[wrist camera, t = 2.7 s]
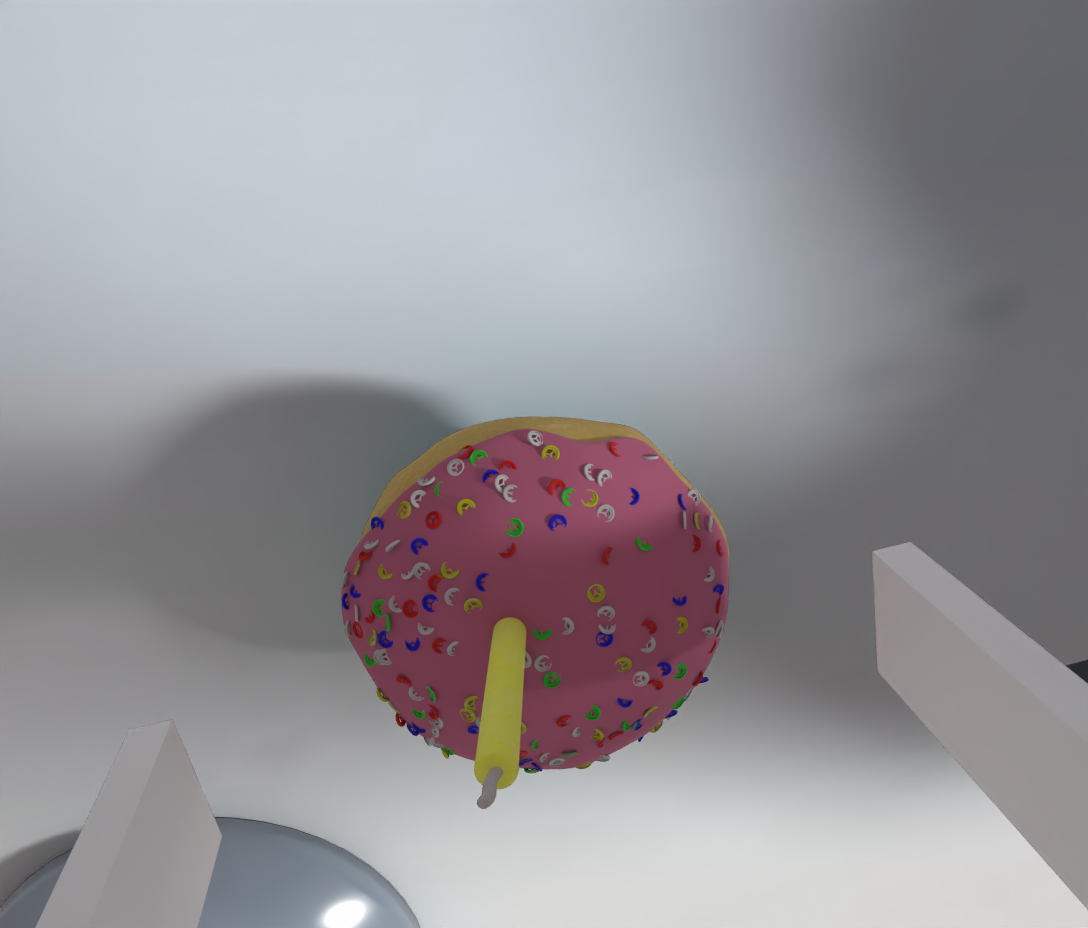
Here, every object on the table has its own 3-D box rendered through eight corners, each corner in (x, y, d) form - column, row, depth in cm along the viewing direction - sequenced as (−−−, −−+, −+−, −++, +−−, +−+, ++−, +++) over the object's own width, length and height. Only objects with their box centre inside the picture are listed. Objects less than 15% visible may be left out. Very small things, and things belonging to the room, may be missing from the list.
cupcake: (306, 577, 23) (198, 976, 12) (459, 302, 21) (496, 480, 10) (574, 693, 26) (688, 1116, 15) (734, 457, 24) (1008, 737, 13)
